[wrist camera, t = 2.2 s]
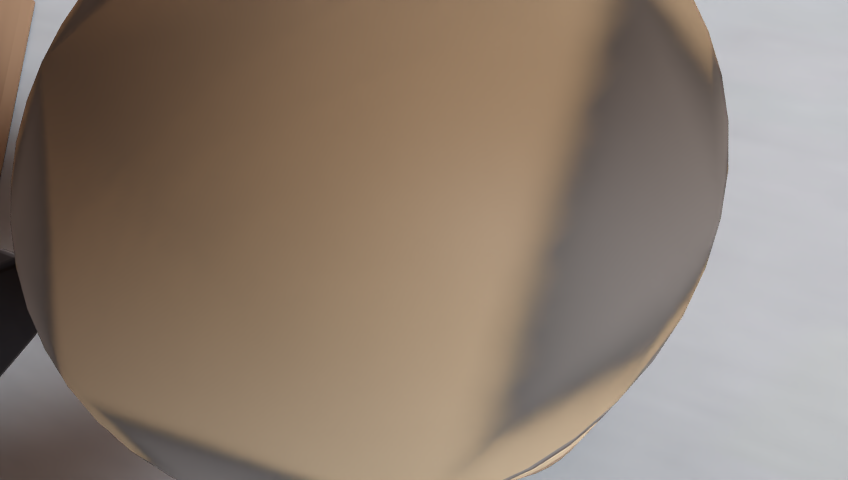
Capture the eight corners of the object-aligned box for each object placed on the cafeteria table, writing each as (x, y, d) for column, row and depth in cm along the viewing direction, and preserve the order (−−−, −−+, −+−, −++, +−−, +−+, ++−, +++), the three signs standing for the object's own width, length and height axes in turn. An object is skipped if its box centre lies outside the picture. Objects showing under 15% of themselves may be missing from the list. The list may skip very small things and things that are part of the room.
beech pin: (602, 485, 16) (758, 541, 4) (391, 475, 17) (-53, 496, 4) (597, 276, 17) (704, -199, 5) (401, 276, 18) (71, -141, 6)
